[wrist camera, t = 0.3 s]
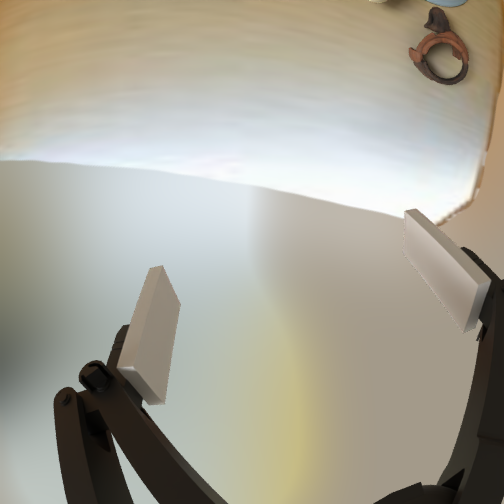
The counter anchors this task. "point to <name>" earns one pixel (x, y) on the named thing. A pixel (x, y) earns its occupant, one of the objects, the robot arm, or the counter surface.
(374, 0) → the balance
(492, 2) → the counter surface
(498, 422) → the robot arm
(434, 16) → the pottery mug
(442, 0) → the plate
